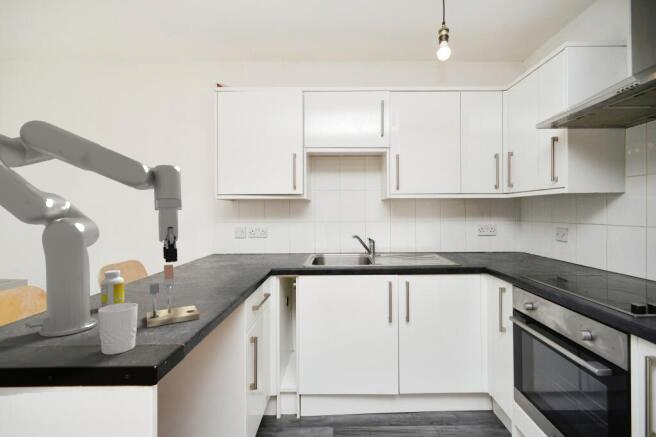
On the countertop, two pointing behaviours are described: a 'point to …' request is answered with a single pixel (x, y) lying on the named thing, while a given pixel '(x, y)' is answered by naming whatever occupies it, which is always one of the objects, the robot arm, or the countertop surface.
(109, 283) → the supplement bottle
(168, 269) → the slider block
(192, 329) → the countertop surface
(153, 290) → the divider frame
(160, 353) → the countertop surface
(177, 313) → the hole plate
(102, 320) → the white cup
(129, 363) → the countertop surface
